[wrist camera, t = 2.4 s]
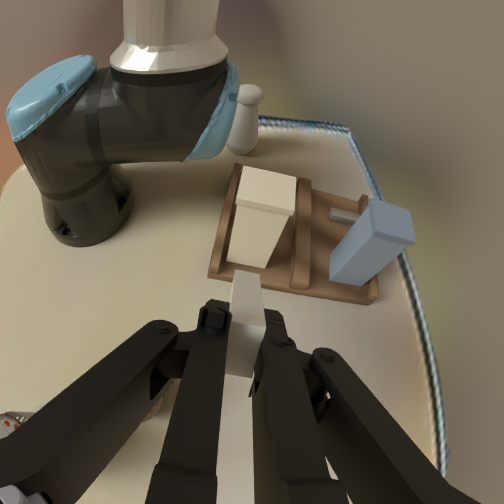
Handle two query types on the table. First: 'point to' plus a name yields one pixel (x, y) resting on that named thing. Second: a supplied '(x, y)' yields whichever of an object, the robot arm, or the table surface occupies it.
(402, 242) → the blue-grey rectangular block
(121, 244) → the table surface
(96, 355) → the table surface
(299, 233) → the wooden divided tray
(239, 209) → the cream tall block
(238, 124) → the salt shaker
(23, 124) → the robot arm
